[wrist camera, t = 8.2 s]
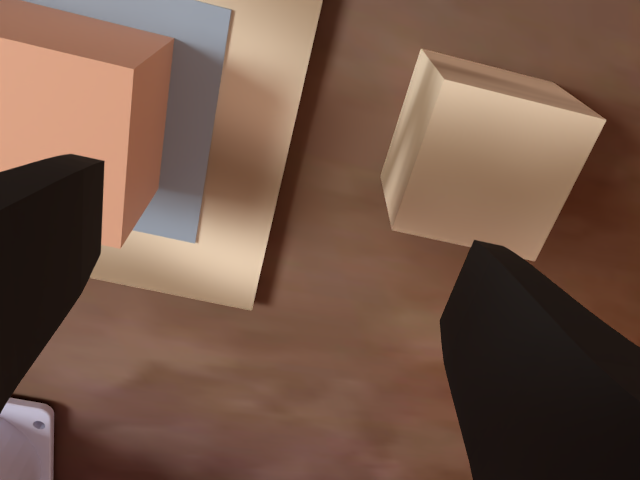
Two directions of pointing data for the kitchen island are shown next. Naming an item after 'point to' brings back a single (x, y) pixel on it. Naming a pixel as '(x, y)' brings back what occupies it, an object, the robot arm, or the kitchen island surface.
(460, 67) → the maple cap block
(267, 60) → the baseboard
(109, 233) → the terracotta base block
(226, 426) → the kitchen island surface
